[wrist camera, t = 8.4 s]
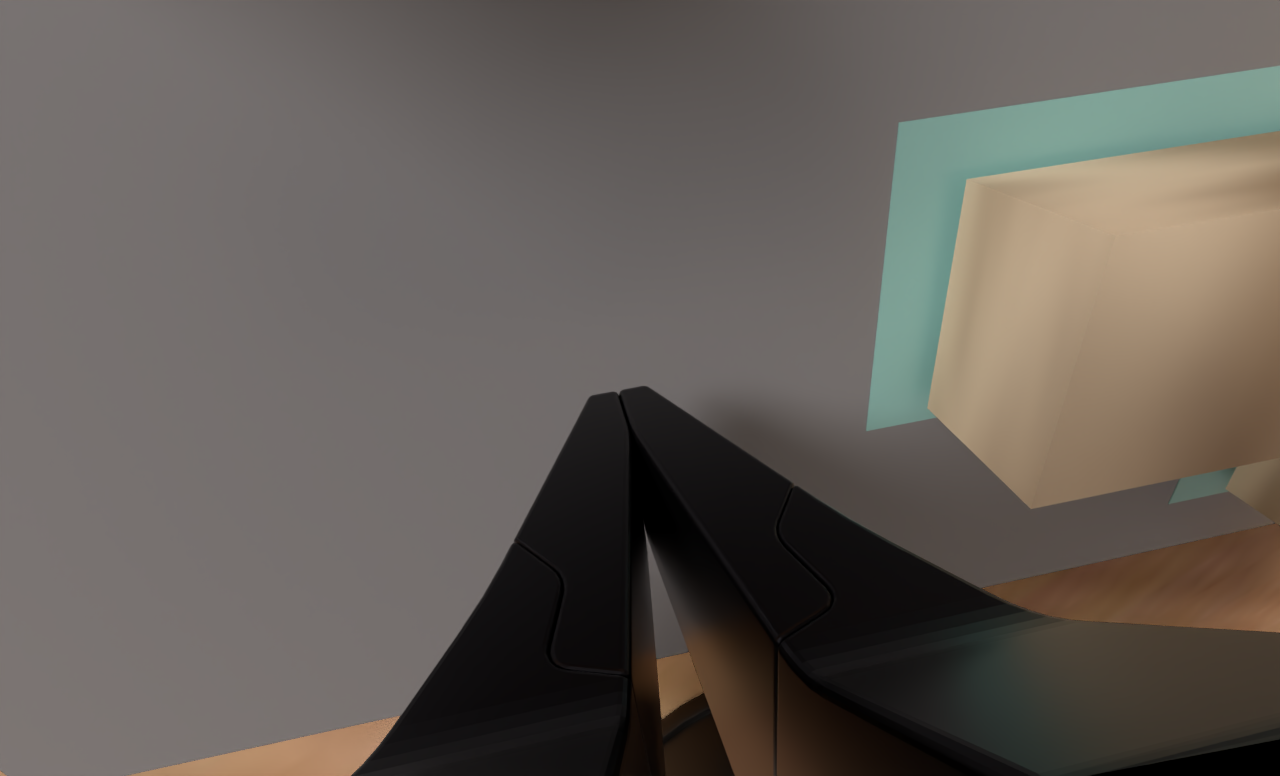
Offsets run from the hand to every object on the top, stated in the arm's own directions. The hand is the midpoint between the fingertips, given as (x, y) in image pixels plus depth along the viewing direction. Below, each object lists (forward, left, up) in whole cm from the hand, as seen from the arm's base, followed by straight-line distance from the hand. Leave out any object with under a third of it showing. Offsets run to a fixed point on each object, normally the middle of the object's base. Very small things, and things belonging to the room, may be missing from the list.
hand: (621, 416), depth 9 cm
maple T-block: (-13, 0, -2) cm, 13 cm away
